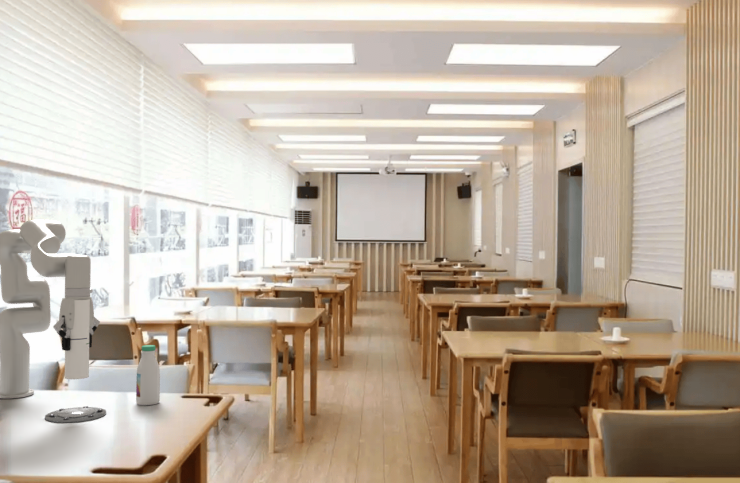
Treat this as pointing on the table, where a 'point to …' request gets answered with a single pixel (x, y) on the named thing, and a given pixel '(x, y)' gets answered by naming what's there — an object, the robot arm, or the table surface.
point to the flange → (75, 414)
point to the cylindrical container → (79, 343)
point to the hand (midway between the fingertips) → (77, 348)
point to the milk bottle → (148, 378)
